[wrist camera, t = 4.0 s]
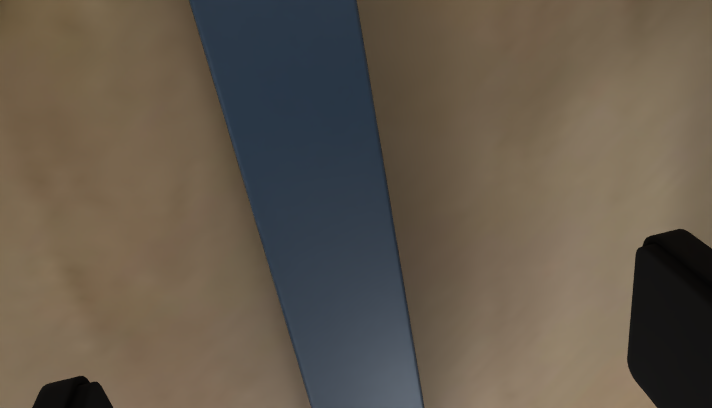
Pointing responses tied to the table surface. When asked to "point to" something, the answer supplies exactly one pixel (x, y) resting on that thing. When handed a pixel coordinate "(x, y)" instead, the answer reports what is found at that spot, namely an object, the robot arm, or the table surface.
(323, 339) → the stick
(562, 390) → the table surface
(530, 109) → the table surface
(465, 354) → the table surface
